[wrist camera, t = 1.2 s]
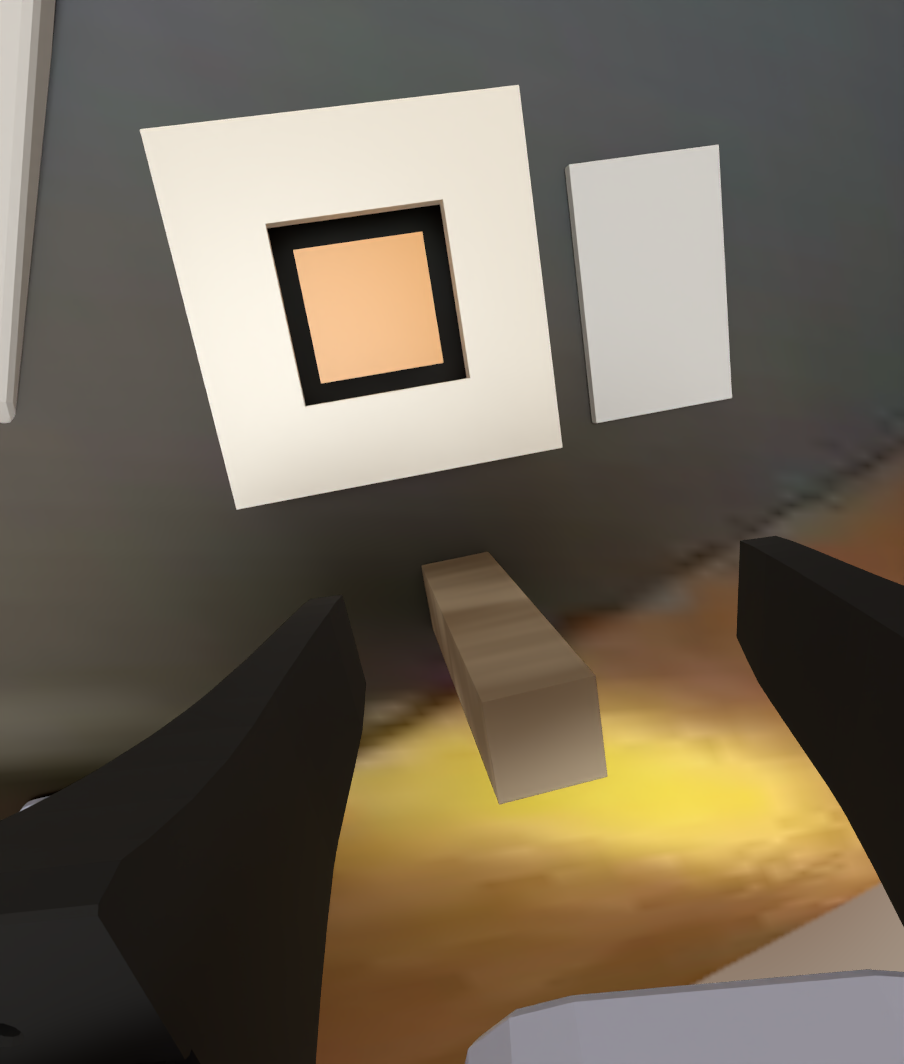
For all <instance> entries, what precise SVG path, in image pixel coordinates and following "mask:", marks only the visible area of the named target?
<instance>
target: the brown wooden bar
mask: <svg viewBox="0 0 904 1064" xmlns="http://www.w3.org/2000/svg"><path fill="white" fill-rule="evenodd" d="M421 567H422V572H423V578H424V583H425V589H426V594H427V599H428V605H429V610H430V616H431V621H432V627H433V630H434V633H435V636H436V638H437V641H438V644H439V646H440V649H441V652H442V654H443V657H444V660H445V662H446V665H447V667H448V670H449V673H450V675H451V678H452V681H453V683H454V686H455V689H456V691H457V694H458V697H459V699H460V702H461V705H462V707H463V710H464V713H465V715H466V718H467V720H468V723H469V726H470V728H471V731H472V734H473V736H474V739H475V742H476V744H477V747H478V750H479V752H480V755H481V758H482V760H483V763H484V766H485V768H486V771H487V774H488V776H489V779H490V781H491V784H492V787H493V789H494V792H495V795H496V797H497V800H498V803H499V804H503V803H507V802H511V801H515V800H519V799H522V798H526V797H530V796H534V795H538V794H542V793H546V792H550V791H553V790H557V789H561V788H565V787H569V786H573V785H577V784H581V783H584V782H588V781H592V780H596V779H600V778H604V777H607V768H606V760H605V751H604V743H603V735H602V726H601V718H600V709H599V701H598V692H597V684H596V676H595V674H594V673H593V672H592V671H591V670H590V669H589V667H588V666H587V665H586V664H585V663H584V662H583V661H582V659H581V658H580V657H579V656H578V655H577V654H576V652H575V651H574V650H573V649H572V648H571V647H570V646H569V644H568V643H567V642H566V641H565V640H564V639H563V637H562V636H561V635H560V634H559V633H558V632H557V631H556V629H555V628H554V627H553V626H552V625H551V624H550V623H549V621H548V620H547V619H546V618H545V617H544V616H543V614H542V613H541V612H540V611H539V610H538V609H537V608H536V606H535V605H534V604H533V603H532V602H531V601H530V599H529V598H528V597H527V596H526V595H525V594H524V593H523V591H522V590H521V589H520V588H519V587H518V586H517V584H516V583H515V582H514V581H513V580H512V579H511V578H510V576H509V575H508V574H507V573H506V572H505V571H504V570H503V568H502V567H501V566H500V565H499V564H498V563H497V561H496V560H495V559H494V558H493V557H492V556H491V555H490V553H489V552H483V553H479V554H474V555H469V556H464V557H459V558H455V559H450V560H445V561H440V562H435V563H431V564H426V565H421Z"/></svg>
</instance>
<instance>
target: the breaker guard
mask: <svg viewBox="0 0 904 1064" xmlns="http://www.w3.org/2000/svg"><path fill="white" fill-rule="evenodd" d="M140 132H141V136H142V140H143V144H144V148H145V152H146V156H147V160H148V163H149V167H150V171H151V175H152V179H153V183H154V187H155V191H156V195H157V199H158V203H159V207H160V211H161V215H162V218H163V222H164V226H165V230H166V234H167V238H168V242H169V246H170V250H171V254H172V258H173V262H174V266H175V270H176V273H177V277H178V281H179V285H180V289H181V293H182V297H183V301H184V305H185V309H186V313H187V317H188V321H189V325H190V328H191V332H192V336H193V340H194V344H195V348H196V352H197V356H198V360H199V364H200V368H201V372H202V376H203V380H204V383H205V387H206V391H207V395H208V399H209V403H210V407H211V411H212V415H213V419H214V423H215V427H216V431H217V434H218V438H219V442H220V446H221V450H222V454H223V458H224V462H225V466H226V470H227V474H228V478H229V482H230V486H231V489H232V493H233V497H234V501H235V505H236V509H242V508H248V507H253V506H258V505H263V504H269V503H274V502H279V501H284V500H290V499H295V498H300V497H305V496H311V495H316V494H321V493H326V492H332V491H337V490H342V489H347V488H353V487H358V486H363V485H368V484H374V483H379V482H384V481H389V480H395V479H400V478H405V477H410V476H416V475H421V474H426V473H431V472H437V471H442V470H447V469H452V468H458V467H463V466H468V465H473V464H479V463H484V462H489V461H494V460H500V459H505V458H510V457H515V456H521V455H526V454H531V453H536V452H541V451H547V450H552V449H557V448H562V439H561V431H560V423H559V414H558V406H557V398H556V390H555V381H554V373H553V365H552V356H551V348H550V340H549V331H548V323H547V315H546V306H545V298H544V290H543V282H542V273H541V265H540V257H539V248H538V240H537V232H536V223H535V215H534V207H533V198H532V190H531V182H530V174H529V165H528V157H527V149H526V140H525V132H524V124H523V115H522V107H521V99H520V90H519V85H515V86H506V87H498V88H489V89H480V90H472V91H463V92H455V93H446V94H438V95H429V96H421V97H412V98H404V99H395V100H386V101H378V102H369V103H361V104H352V105H344V106H335V107H327V108H318V109H310V110H301V111H292V112H284V113H275V114H267V115H258V116H250V117H241V118H233V119H224V120H216V121H207V122H198V123H190V124H181V125H173V126H164V127H156V128H147V129H140ZM439 204H440V208H441V215H442V221H443V228H444V234H445V241H446V247H447V254H448V260H449V267H450V273H451V280H452V286H453V293H454V299H455V306H456V312H457V319H458V325H459V332H460V338H461V345H462V351H463V358H464V364H465V371H466V377H467V378H464V379H458V380H452V381H447V382H441V383H435V384H429V385H424V386H418V387H412V388H406V389H401V390H395V391H389V392H383V393H378V394H372V395H366V396H360V397H354V398H349V399H343V400H337V401H331V402H326V403H320V404H314V405H308V406H306V404H305V399H304V395H303V390H302V385H301V381H300V376H299V372H298V367H297V362H296V358H295V353H294V349H293V344H292V339H291V335H290V330H289V326H288V321H287V316H286V312H285V307H284V303H283V298H282V293H281V289H280V284H279V280H278V275H277V270H276V266H275V261H274V257H273V252H272V247H271V243H270V238H269V234H268V229H267V228H274V227H281V226H288V225H295V224H302V223H310V222H317V221H324V220H331V219H338V218H346V217H353V216H360V215H367V214H375V213H382V212H389V211H396V210H403V209H411V208H418V207H425V206H432V205H439Z"/></svg>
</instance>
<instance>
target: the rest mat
mask: <svg viewBox="0 0 904 1064" xmlns="http://www.w3.org/2000/svg"><path fill="white" fill-rule="evenodd" d="M565 176H566V185H567V194H568V204H569V213H570V222H571V231H572V241H573V250H574V259H575V269H576V278H577V287H578V296H579V306H580V315H581V324H582V334H583V343H584V352H585V361H586V371H587V380H588V389H589V399H590V408H591V417H592V423H600V422H606V421H611V420H616V419H622V418H627V417H632V416H638V415H643V414H648V413H654V412H659V411H664V410H670V409H675V408H680V407H686V406H691V405H696V404H702V403H707V402H712V401H718V400H723V399H729V398H732V390H731V371H730V352H729V333H728V314H727V295H726V276H725V257H724V238H723V219H722V200H721V181H720V162H719V145H712V146H704V147H697V148H689V149H682V150H675V151H667V152H660V153H652V154H645V155H637V156H630V157H622V158H615V159H608V160H600V161H593V162H585V163H578V164H570V165H568V166H567V167H566V168H565Z"/></svg>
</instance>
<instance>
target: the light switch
mask: <svg viewBox="0 0 904 1064" xmlns="http://www.w3.org/2000/svg"><path fill="white" fill-rule="evenodd" d="M54 13H55V0H0V423H10V422H11V420H12V419H13V418H14V416H15V414H16V405H17V395H18V385H19V375H20V365H21V355H22V345H23V334H24V324H25V314H26V304H27V294H28V284H29V274H30V264H31V254H32V244H33V234H34V224H35V214H36V204H37V194H38V184H39V174H40V164H41V154H42V144H43V134H44V124H45V114H46V103H47V93H48V83H49V73H50V63H51V53H52V40H53V27H54Z"/></svg>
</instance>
